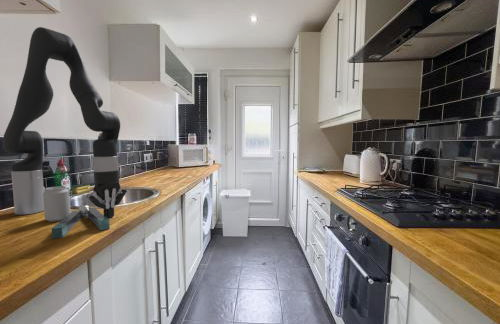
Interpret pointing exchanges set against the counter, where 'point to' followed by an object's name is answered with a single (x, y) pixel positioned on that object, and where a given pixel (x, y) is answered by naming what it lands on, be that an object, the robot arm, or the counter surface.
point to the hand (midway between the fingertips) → (109, 218)
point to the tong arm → (98, 219)
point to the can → (56, 203)
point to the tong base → (69, 222)
